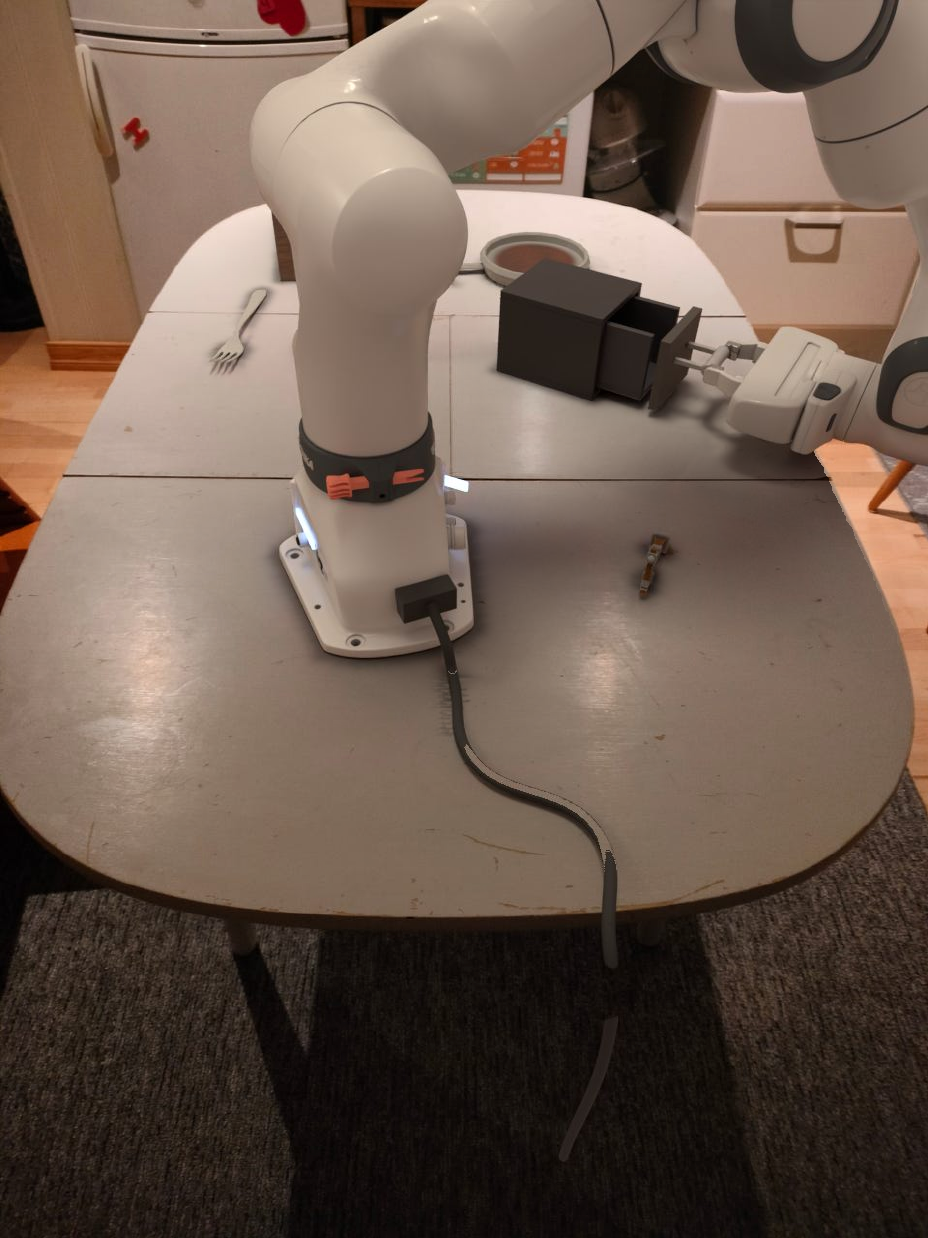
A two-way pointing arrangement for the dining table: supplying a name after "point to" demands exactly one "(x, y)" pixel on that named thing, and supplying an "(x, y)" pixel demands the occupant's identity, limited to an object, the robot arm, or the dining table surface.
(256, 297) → the fork
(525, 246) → the frying pan
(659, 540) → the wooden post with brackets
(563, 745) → the dining table surface
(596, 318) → the drawer box
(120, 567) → the dining table surface
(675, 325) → the dark grey drawer
